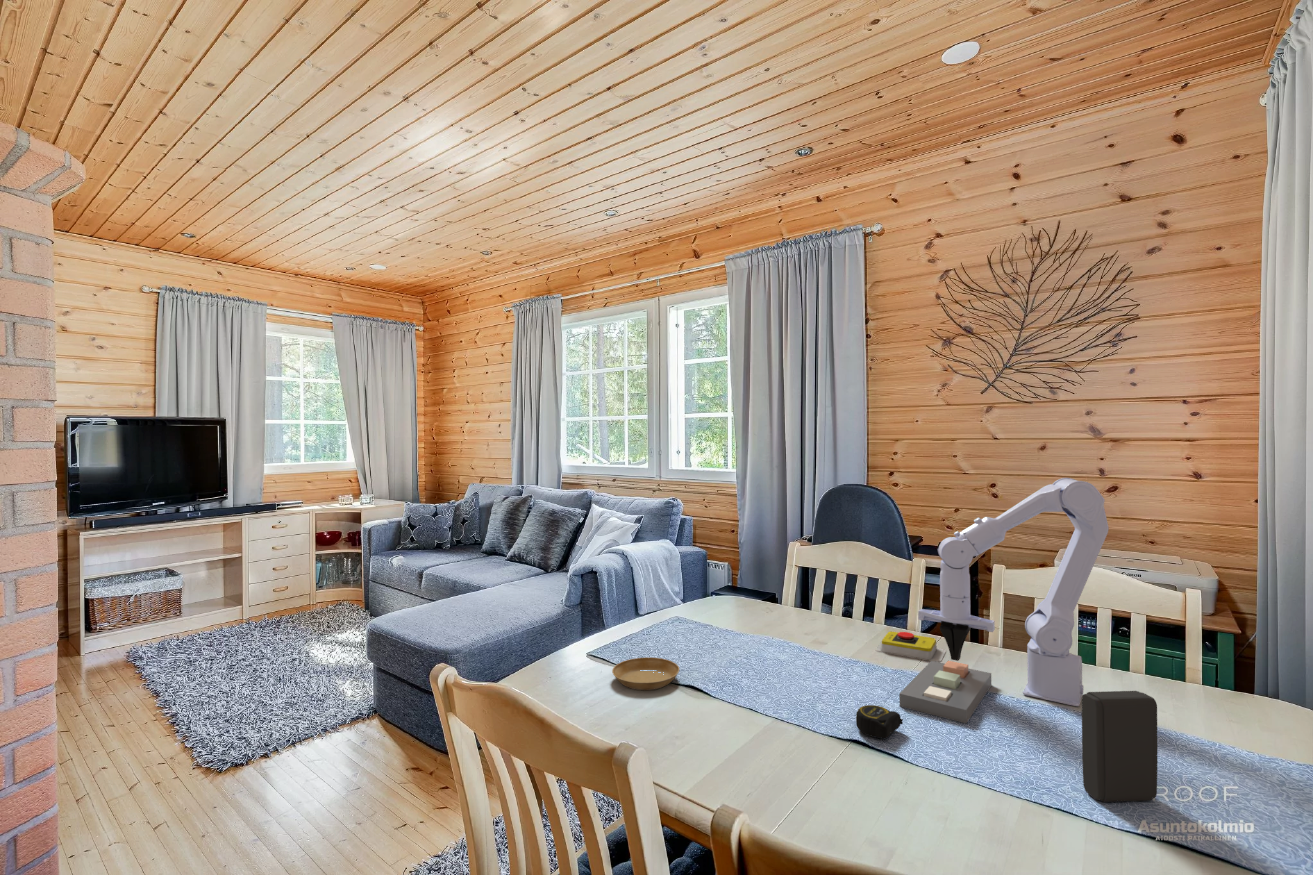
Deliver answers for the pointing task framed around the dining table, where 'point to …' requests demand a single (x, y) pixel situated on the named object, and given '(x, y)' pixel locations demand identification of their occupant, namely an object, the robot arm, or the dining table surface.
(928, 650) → the emergency button
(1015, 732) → the dining table surface
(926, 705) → the button panel
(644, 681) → the plant saucer
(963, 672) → the terracotta button
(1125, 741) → the dark brown upright block
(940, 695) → the cream button
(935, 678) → the sage button
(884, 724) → the tape measure
